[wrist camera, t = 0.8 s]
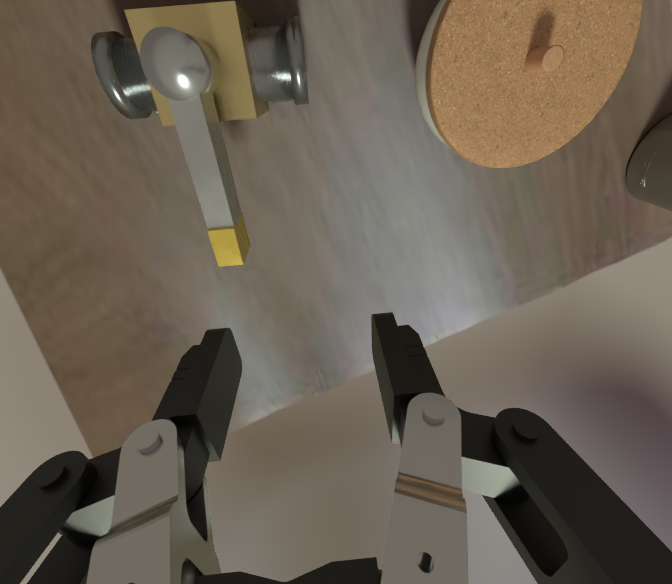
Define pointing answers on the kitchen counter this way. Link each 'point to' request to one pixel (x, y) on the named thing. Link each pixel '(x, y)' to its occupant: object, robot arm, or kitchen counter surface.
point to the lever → (198, 132)
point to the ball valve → (229, 49)
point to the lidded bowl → (520, 73)
